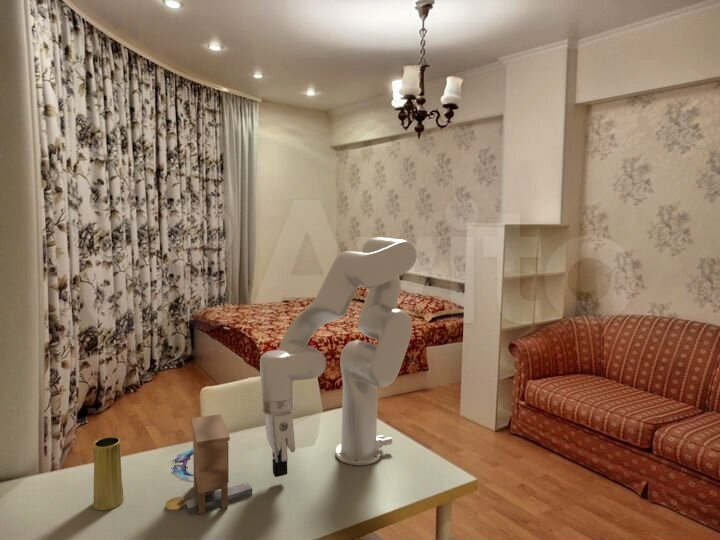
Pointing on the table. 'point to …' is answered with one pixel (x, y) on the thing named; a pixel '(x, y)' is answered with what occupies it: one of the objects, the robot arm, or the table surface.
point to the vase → (107, 474)
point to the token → (175, 504)
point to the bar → (219, 498)
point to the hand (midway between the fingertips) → (280, 474)
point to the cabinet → (210, 458)
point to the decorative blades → (183, 466)
